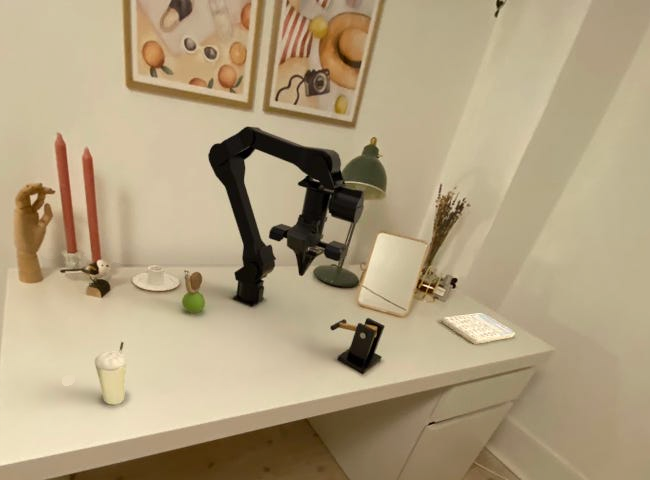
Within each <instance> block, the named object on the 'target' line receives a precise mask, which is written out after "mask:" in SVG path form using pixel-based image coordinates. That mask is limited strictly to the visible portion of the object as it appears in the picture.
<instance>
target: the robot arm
mask: <svg viewBox="0 0 650 480" xmlns="http://www.w3.org/2000/svg"><path fill="white" fill-rule="evenodd" d="M255 151H259V152H262V153H264V154H267V155H269V156H272V157H273V158H274V157H275V158H277V159H279V160H282V161H285V162H287V163H289V164H292V165H294V166H295V167H297V168H298V170H300V171H301V172H302V173H304V174H305V175H306V176H305V177H304V178H303V179H301V180H300V181H298V182H297V186H298V187H302V188H305V194H304V198H303V204H302V208H301V214H299V215H298V218H297V221H296V223H295V224H294V225H293V226H290V225H287V224H285V223H284V224H283V223H279V224H277V225H273V226H272V227H270V230H269V232H268V239H270V240H273V241H276V242H281V241H283V240H284V239H286V247H287V248H289V249H290V250H291V251H293V253H294V255H295V258H296V265H297V270H298V276H300V277H303V276H304V275H305V274H306V272H307V271H308V269H309V268H310V266H311V265H312V264H313V261H314V260H315V259H316V258H317V257H319V256H321V255H322V254H323V255H324V257H325V258H326V259H329V260H332V261H335V262H341V261H342V260H343V259H344V258H346V257H347V255H348V252H349V247H348V244H346V243H344V242H343V243H342V242H339V241H337V240H332V241H330V242H329V243H328V242H325V241H322V240H323V238H324V234H323V232H324V228H325V224H326V222H328V218H329V217H328V216H327V215H328V214H330V216H331V217H332V218H334V219H338V220H341V221H343V222H348V223H350V224H355V225H356V224H357V223H358V222H359V221H360V219H361V217H362V214H363V212H364V208H365V205H364V204H365V197H364V196H365V190H363V189H359V188H353V187H349V186H347V184H346V181H345V178H344V176H343V172H342V169H341V166H342V161H341V158H340V154H339V152H337V151H336V150H334V149H328V148H320V147H313V146H305V145H302V144H300V143H297V142H294V141H292V140H288V139H286V138H284V137H281V136H278V135H275V134H273V133H270V132H267V131H265V130H262V129H261V128H260V127H258V126H244V128H242V129H241V130H239V131H238V132H237V133H235V134H233V135H231V136H230V137H228V138H226V139H224V140H223V141H221V142H219V143H218V142H217V143H214V144H213V145H212V146H211V147H210V149H209V152H208V154H207V157H208V163H209V165H210V167H211V169H212V171H213V174H214V175H215V177H216V178H217V179H218V180H219V182H220V183H221V184H222V185H223V186H224V188H225V191H226V195H227V198H228V201H229V204H230V208H231V210H232V214H233V217H234V220H235V223H236V227H237V229H238V231H239V232H238V233H239V235H240V238H241V242H242V246H243V247H242V255H241V259H242V265H243V266H242V267H239V269H237V270H236V271H234V279H235V281H236V282H237V287H236V294H235V295H234V296H233V297H232V299H233V300H235V301H238V302H240V303H243V304H245V305H248V306H250V307H254V306H256V305H257V304H259V303H261V302H262V301H264V299H265V298H264V292H265V286H264V283H265V280H264V279H265V278H266V277H267V276H268V275H269V274H271V273H272V272H273V271H274V269H275V267H276V260H277V257H276V256H275V254H274V249H273V246H272V244H268V245H267V244H266V243H265V242H264V241H263V239H262V237H261V233H260V229H259V226H258V223H257V219H256V217H255V214H254V210H253V207H252V204H251V200H250V196H249V193H248V190H247V187H246V184H245V176H246V162H245V161H246V160H247V159H248V158H250V157H251V156H252V154H253V153H254V152H255Z"/></svg>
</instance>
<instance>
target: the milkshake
mask: <svg viewBox="0 0 650 480" xmlns="http://www.w3.org/2000/svg"><path fill="white" fill-rule="evenodd" d="M124 343H125V342H124V341H120V345H119V351H114V350H107V351H104V352H102V353H99V354H98V355H97V356H96V357H95V358H94V365H95V366H94V367H95V369H96V374H97V377H98V381H99V386H100V390H101V393H102V398H103V401H104V402H105V404H107V405H113V406H115V405H118V404H121V403H123V402H124V401H125V393H126V392H125V389H126V388H125V386H126V385H125V383H126V380H125V379H126V366H127V358H126V356H125V355H124V354H123V353H122V352H123V348H124V345H125V344H124Z"/></svg>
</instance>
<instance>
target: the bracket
mask: <svg viewBox="0 0 650 480" xmlns="http://www.w3.org/2000/svg"><path fill="white" fill-rule="evenodd" d="M366 324H368V325H372V326H377V331H376V330H374V329H372V328H370V327H368V326H366ZM356 326H357V328H356V331H354V334H353V337H352V340H351V344H350V346H349V348H348V349H347V350H345V351H344V352H342V353H341V354H339V355H338V356H337V361H338V362H340V363H342V364H344V365H345V366H346V367H348V368H351V369H352V370H354V371H355V372H357V373H359V374H361V375H364V374H365V373H366V372H368V371H369V370H370V369H371V368H373V367H374V366H375V365H377V364H378V363H380V361H381V360H382V355H380V354H379V353H376V351H377V348H378V345H379V343H380V341H381V338H382V334H383V332H384V330H385V325H384V324H382V323H380V322H378V321H376V320H374V319H372V318H369V317H366V319H365V321H364V323H361V322H358V323H357V325H356ZM376 332H377V336H376V337H375V335H376Z"/></svg>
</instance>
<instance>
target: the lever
mask: <svg viewBox="0 0 650 480" xmlns="http://www.w3.org/2000/svg"><path fill="white" fill-rule="evenodd" d="M366 326H368V327H370V328H372V329H374V330H376V331H377V326H372V325H368V324H366ZM329 328H330V331H335V330H338V329H344V330H348V331H352V332H355V331H356V328H357V325H355V324H350V323H347V320H346V319H341V320H339V321H337V322H335V323H334V324H332V325H330V327H329ZM376 336H377V332H376V335H375V337H376Z"/></svg>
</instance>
